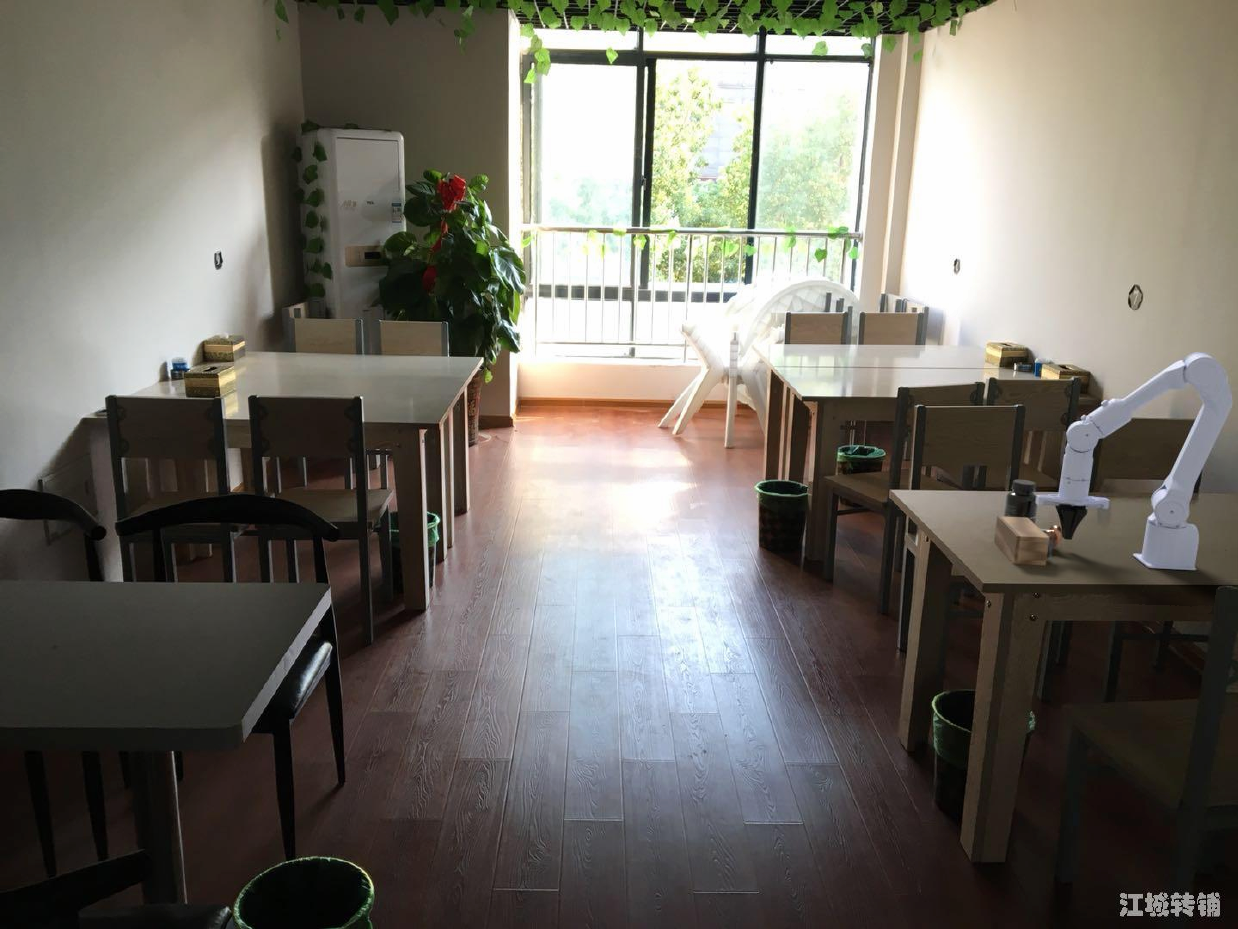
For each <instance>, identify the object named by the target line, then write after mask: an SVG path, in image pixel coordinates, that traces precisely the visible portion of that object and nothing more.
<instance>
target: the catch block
mask: <svg viewBox="0 0 1238 929" xmlns="http://www.w3.org/2000/svg"><path fill="white" fill-rule="evenodd" d="M1041 529H1042V528H1040V527H1039V526H1037V525H1036V523H1035V524H1034V523H1033V522H1032V521H1031V520H1030V519H1029V518H1026V517H1004V515H1002V516H998V515H997V517H996V523H995V532H994V540H993V542H995V543H996V544H997V545H996V544H995V543H994V544H995V545H996V546H997V547H998V546H999V547H1000V548H999V547H998V548H999V550H1001V551H1002V553H1003V552H1004V553H1005V554H1004V553H1003V554H1004V555H1005V556H1006V557H1007V558H1008V559H1009V561H1011V563H1012V564H1014V565H1033V566H1046V565H1047V559H1048V558H1047V552H1048V545H1049V537H1048V536H1047V535H1046V534H1045V533H1044V532H1043V531H1042V530H1041Z"/></svg>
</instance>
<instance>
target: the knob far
mask: <svg viewBox="0 0 1238 929" xmlns="http://www.w3.org/2000/svg"><path fill="white" fill-rule="evenodd" d="M1040 529H1041V530H1042V531H1043V532H1044V533H1045V534H1046V535H1047V536H1051V537H1052V540H1053V548H1055V547H1056V548H1059V547H1061V546H1060V545H1061V544H1062V538H1063V537H1062V528H1061V525H1050V527H1049V529H1048V528H1040Z"/></svg>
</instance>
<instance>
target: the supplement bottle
mask: <svg viewBox="0 0 1238 929" xmlns="http://www.w3.org/2000/svg"><path fill="white" fill-rule="evenodd" d="M1036 485H1037V484H1036V482H1034V481H1031V480H1027V479H1014V480H1012V486H1011V490H1012V491H1011V490H1010V491H1009V492H1008V493H1007V494H1006V497H1005V503H1004V510H1003V516H1004V517H1026V518H1029V519H1030V520H1031V521H1032V522H1033V523H1034V524H1035V525H1036V519H1037V512H1038V507H1039V505H1037V504H1036V495H1037V494H1035V492H1036V487H1037V486H1036Z"/></svg>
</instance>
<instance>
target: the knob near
mask: <svg viewBox="0 0 1238 929" xmlns="http://www.w3.org/2000/svg"><path fill="white" fill-rule="evenodd" d="M1048 537H1049V545H1048V552H1047V559H1051V558H1052V557H1053V554H1054V547H1053V540H1052V537H1051V536H1048Z"/></svg>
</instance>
